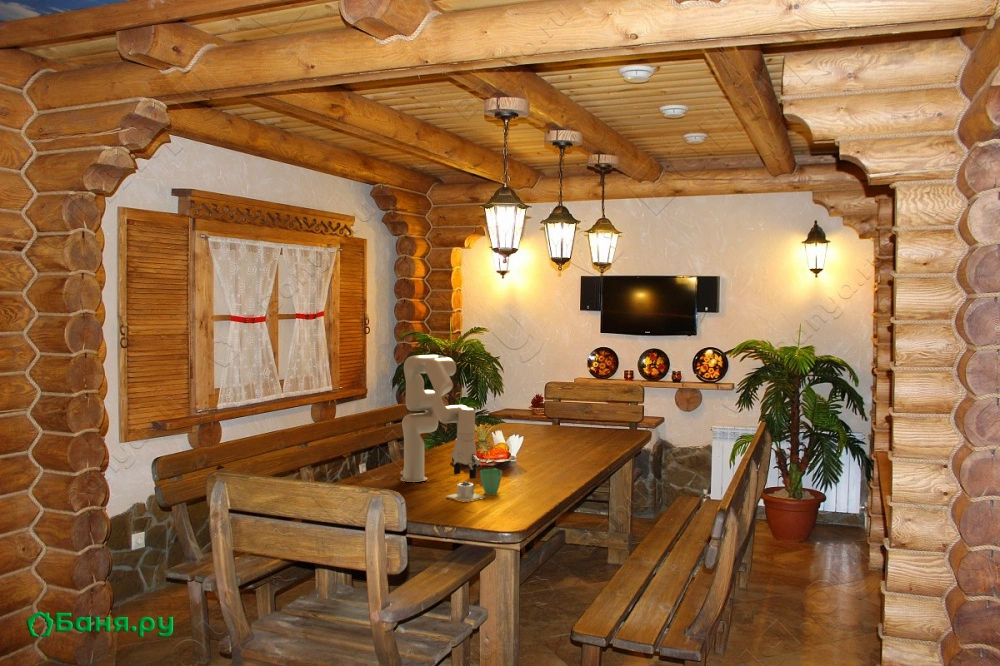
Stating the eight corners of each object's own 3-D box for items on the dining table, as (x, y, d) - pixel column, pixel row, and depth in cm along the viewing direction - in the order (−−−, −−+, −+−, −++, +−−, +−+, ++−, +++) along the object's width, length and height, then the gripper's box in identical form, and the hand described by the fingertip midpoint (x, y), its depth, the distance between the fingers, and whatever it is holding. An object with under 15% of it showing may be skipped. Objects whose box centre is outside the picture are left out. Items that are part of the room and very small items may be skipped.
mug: (499, 496, 357) (499, 474, 357) (477, 495, 359) (477, 472, 359) (506, 489, 371) (506, 467, 371) (484, 488, 373) (484, 466, 373)
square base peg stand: (445, 498, 354) (445, 482, 353) (466, 493, 362) (466, 477, 362) (464, 503, 345) (465, 486, 345) (485, 498, 354) (485, 482, 354)
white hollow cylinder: (454, 495, 354) (454, 484, 354) (465, 493, 359) (465, 482, 358) (465, 498, 349) (465, 486, 349) (476, 496, 354) (476, 484, 354)
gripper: (445, 434, 356) (444, 473, 357) (473, 440, 344) (472, 481, 345) (458, 432, 362) (457, 471, 363) (486, 438, 350) (485, 478, 351)
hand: (464, 476), depth 354 cm, fingers open, 9 cm apart
